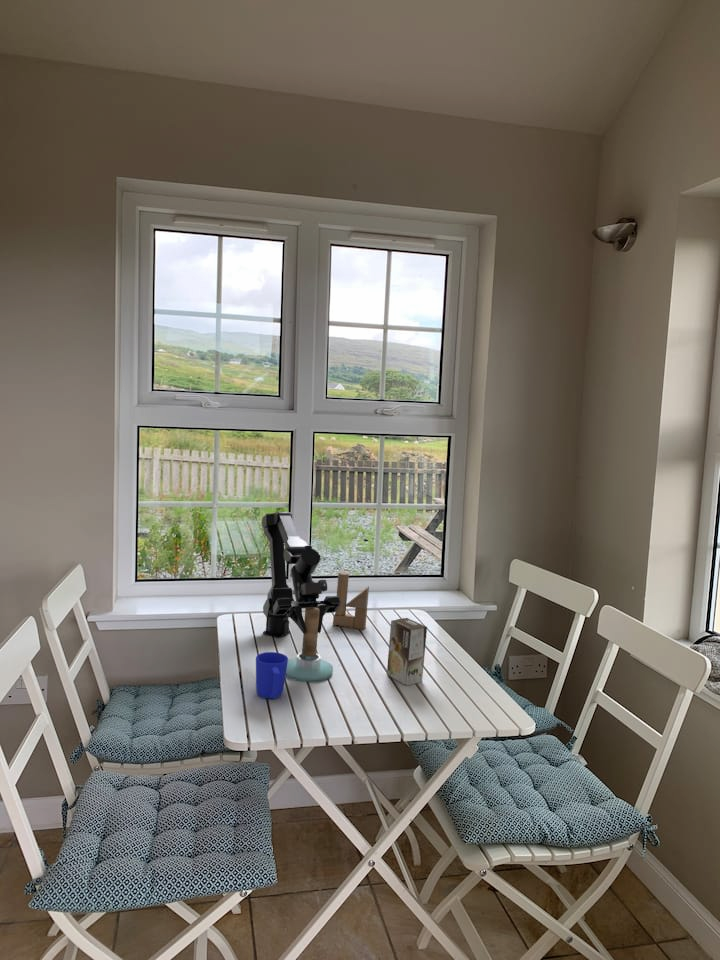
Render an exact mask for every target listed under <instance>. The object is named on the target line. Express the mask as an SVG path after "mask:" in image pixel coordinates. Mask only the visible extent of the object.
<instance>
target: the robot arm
mask: <svg viewBox="0 0 720 960" xmlns="http://www.w3.org/2000/svg"><path fill="white" fill-rule="evenodd" d="M261 527H262V528H263V534H264V536H265V537H266V538H267V540H268V542H269V551H270V552H269V554H270V555H269V557H270V571H271V572H270V573H271V587H270V589H269V591H268V593H267V598H266V599H265V602H264V604H263V606H262V613H263V615H264V616H265V617H266V623H265V630H264V631H262V634H264V635H266V636H271V637H275V638H277V639H278V638H279V639H281V638H282V637H284V636H286V635H288V634H290V633H291V631H290V620H289V619H291V620H292V621H293V622H294V623H295V624H296V626H297V627H298V629H300V631H301V632H302V634H305V633H306V628H305V624H304V620H305V619H304V617H303V610H304V609H305V608H307V607H316V608H319V609H320V612H319V625H318V634H321V631H322V625H323V620H324V616H325V615H326V614H335V612H336V611H337V609H338V608H339V606H340V605H341V600H340V598H339V597H338V596H337V595H326V596H325V597H324V599H323V600H318V599H319V598H320V595H322V594H323V592H327V591H328V582H327V580H326V579H320V580H318V581H317V582H315V581H313V577H312V575H313V573H314V572H315V571H316V569H317V567H318V565H319V563H320V562H321V559H322V558H321V554H319V552H318V551H317V550H316V549H314V548H313V546H312V545H309V544H308V543H307V542H306V540H304V539H302V538H301V537H300V536H299V535H300V534H299V533H298V530H297V528H296V525H295V523H294V521H293V513H292V512H289V511H275V512H274V513H266V514H265V515H264V516H262V519H261ZM286 564H287V565H293V566H292V567H291V568H290V577H291V580H292V587H293V589H292V587H290V586H289V585H288V584H287V583H288V582H287V570H286ZM293 595H294V596H293ZM294 598H295V599H294Z"/></svg>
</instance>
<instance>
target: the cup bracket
mask: <svg viewBox="0 0 720 960" xmlns="http://www.w3.org/2000/svg"><path fill="white" fill-rule="evenodd" d="M333 672H334V667H333V665H332V664H331V663H330V662H328V661H326V660H323V659H322V657H321V655H320V654H319V653H317V652H316V655H315V656H312V657H308V656H304V655H302V652H299V653H297V654H296V658H295V657H294V658H290V659H288V663H287V670H286V676H285V677H287V678H289V679H291V678H292V680H294V679H295V680H294V681H298V680H300V681H299V682H304V681H305V682H307V683H315V682H314V681H318V682H322V681H326V680H328V679H330V678H332V676H333Z"/></svg>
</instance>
